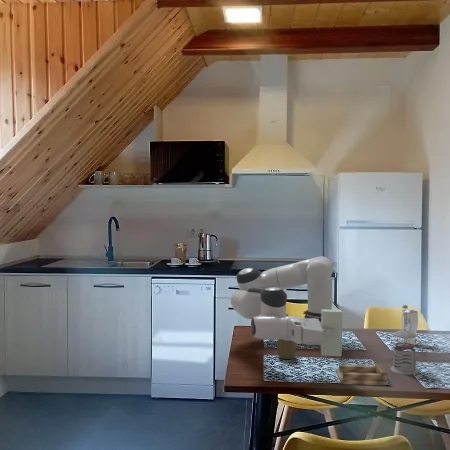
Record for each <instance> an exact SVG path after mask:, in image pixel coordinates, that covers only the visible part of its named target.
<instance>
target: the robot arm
mask: <svg viewBox="0 0 450 450" xmlns="http://www.w3.org/2000/svg"><path fill="white" fill-rule="evenodd" d="M333 264H334V263H333V262H332V261H331V260H330V259H329V258H328V257H326V256H322V255H321V256H316V257H315V256H314V257H312V258H308V259H304V260H300V261H298V262H294V263H290V264H284V265H281V266H276V267H273V268H269V269H267V270H264V271H261V270H258V269H256V268H253V267H248V268H247V267H246V268H244V269H241V270H240V271H239V272H237V274H236V282H237V285H238V289H239V290H236V291H235V292H234V293H233V294H232V296H231V297H230V298H231V299H230V304H231V306H232V308H233V310H234V311H235V312H236V313H237V314H238V315H240V316H241V317H242V318H243V319H247V320H251V321H250V330H251V331H250V333H251V335H252V337H253V338H256V339H259V340H266V341H277V340H278V339H283V340H286V341H294V342H295V343H296V344H304V345H306V346H321V341H323V340H324V335H330V334H333V335H334V334H335V329H331V328H330V329H322V326H321V310H322V309H326V310H333V291H332V289H333V288H332V274H333V272H334V265H333ZM305 285H306V289H307V310H305V311H303V312H302V315H304V316H303V317H302V318H301V316H298V315H297V316H295V315H288V316H286V314H287V301H288V294H287V293H286V292H285V290H290V289H293V288H297V287H298V288H299V287H301V286H302V287H303V286H305Z"/></svg>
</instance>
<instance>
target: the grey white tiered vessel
mask: <svg viewBox="0 0 450 450" xmlns="http://www.w3.org/2000/svg"><path fill="white" fill-rule="evenodd" d="M408 308H409V307H408V305H407V304H403V305H402V309H408ZM393 336H394V337H396V338H400V339H403V338H404V343H402V342H403V341H399V342H395V343H394V347H393V366H392V367H390V370H391V372H393V373H396V374H401V375H409V376H410V375H416V374H418V373H419V371H418V369H417V368H416V366H417V365H416V364H417V361H416V360H419V359H420V358H422V356H423V354H424V350H425V349H424V345H423V343H422V342H421V340H419V339H418V338H417V334H416V335H415V334H414V333H412V332H410V331H407V330H405V327H404V330H403V329H398V330H397V331H395V332H393ZM415 337H416V340H415V343H419V344H420V346H421V349H422V350H421V355H419V356H417V357H416V349H415V346H416V345H415V346H414V345H413V344H409V343H405V338H415Z"/></svg>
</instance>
